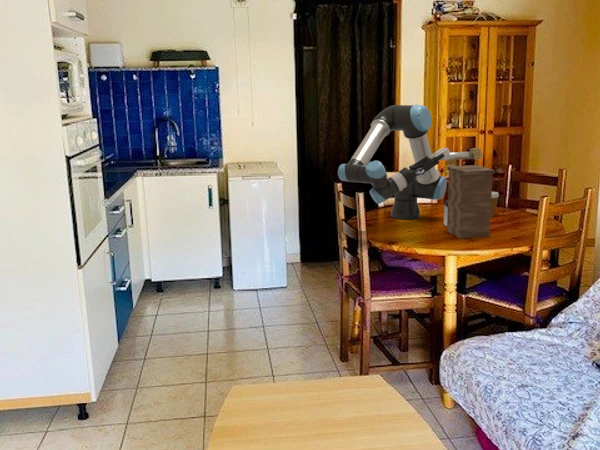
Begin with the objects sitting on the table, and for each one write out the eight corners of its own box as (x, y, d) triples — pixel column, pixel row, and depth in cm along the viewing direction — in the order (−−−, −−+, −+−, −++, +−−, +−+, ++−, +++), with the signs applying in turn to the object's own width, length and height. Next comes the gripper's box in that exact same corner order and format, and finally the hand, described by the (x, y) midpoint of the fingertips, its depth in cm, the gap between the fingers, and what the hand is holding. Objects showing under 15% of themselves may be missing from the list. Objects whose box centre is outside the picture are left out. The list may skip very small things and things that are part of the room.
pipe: (427, 160, 263) (427, 150, 262) (477, 157, 267) (478, 148, 266) (431, 161, 259) (431, 151, 258) (482, 158, 263) (482, 148, 262)
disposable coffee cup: (502, 216, 307) (503, 193, 305) (487, 218, 304) (488, 194, 301) (489, 212, 316) (491, 190, 313) (475, 214, 313) (476, 192, 310)
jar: (452, 227, 284) (453, 203, 282) (440, 224, 291) (441, 200, 288) (465, 225, 289) (466, 200, 286) (453, 222, 296) (453, 198, 293)
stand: (445, 230, 280) (447, 166, 273) (472, 228, 282) (475, 165, 276) (462, 239, 263) (464, 171, 256) (491, 237, 265) (495, 170, 258)
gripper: (400, 183, 269) (443, 155, 270) (413, 189, 254) (459, 159, 255) (392, 169, 267) (435, 141, 268) (405, 174, 252) (451, 144, 253)
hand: (447, 150), depth 261 cm, fingers closed on pipe, 3 cm apart
